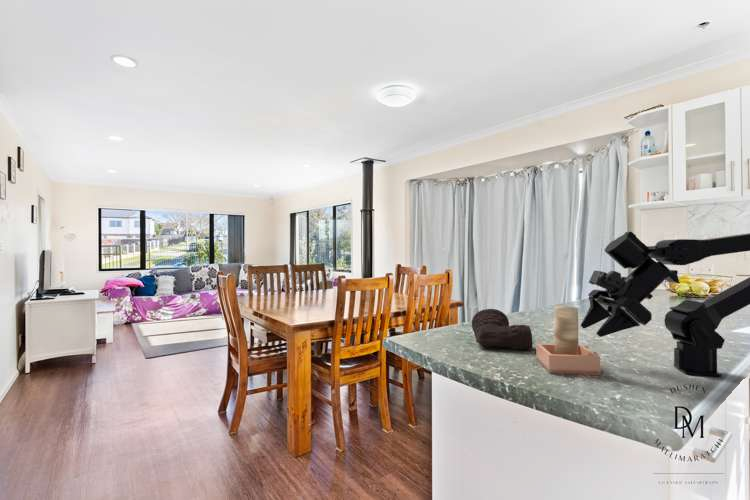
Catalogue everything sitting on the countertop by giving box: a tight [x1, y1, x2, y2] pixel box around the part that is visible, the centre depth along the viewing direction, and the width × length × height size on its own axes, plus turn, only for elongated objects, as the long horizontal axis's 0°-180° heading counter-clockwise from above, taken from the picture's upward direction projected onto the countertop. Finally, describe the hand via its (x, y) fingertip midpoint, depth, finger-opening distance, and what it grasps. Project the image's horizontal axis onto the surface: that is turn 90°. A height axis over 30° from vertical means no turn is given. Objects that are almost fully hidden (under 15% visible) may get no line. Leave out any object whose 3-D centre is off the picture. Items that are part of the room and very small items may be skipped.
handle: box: [582, 344, 597, 354], centre depth 105 cm, size 8×1×5 cm
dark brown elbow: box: [471, 308, 534, 351], centre depth 111 cm, size 10×15×15 cm
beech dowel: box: [553, 305, 579, 355], centre depth 90 cm, size 5×5×13 cm
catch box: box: [535, 343, 602, 376], centre depth 90 cm, size 11×11×4 cm
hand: (589, 330), depth 89 cm, fingers open, 9 cm apart
